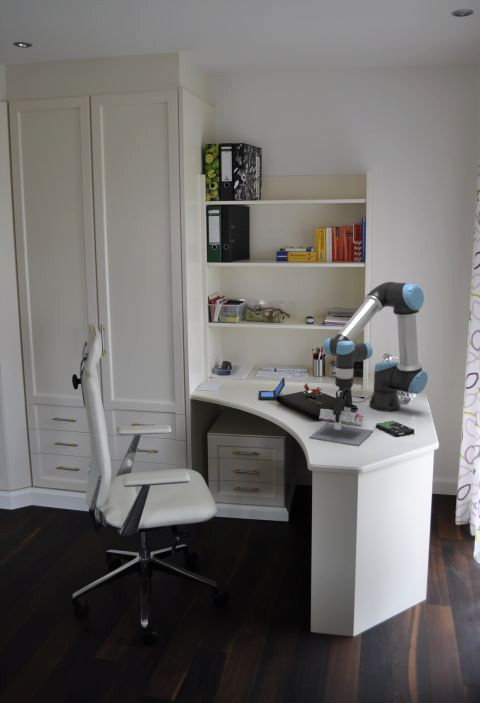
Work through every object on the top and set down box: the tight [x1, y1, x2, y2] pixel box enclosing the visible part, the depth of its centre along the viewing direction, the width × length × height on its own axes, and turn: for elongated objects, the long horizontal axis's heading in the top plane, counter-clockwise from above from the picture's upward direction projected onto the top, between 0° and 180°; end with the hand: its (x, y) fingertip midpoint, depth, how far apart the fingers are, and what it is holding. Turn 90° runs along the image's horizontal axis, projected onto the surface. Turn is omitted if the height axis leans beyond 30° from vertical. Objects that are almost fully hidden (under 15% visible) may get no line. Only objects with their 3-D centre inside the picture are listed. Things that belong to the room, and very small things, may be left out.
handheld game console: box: [258, 377, 286, 402], centre depth 356 cm, size 16×13×9 cm
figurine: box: [303, 382, 324, 395], centre depth 355 cm, size 15×12×7 cm
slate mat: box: [308, 422, 374, 447], centre depth 295 cm, size 22×22×1 cm
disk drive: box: [375, 420, 415, 438], centre depth 301 cm, size 10×3×15 cm
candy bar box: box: [318, 407, 364, 428], centre depth 294 cm, size 11×5×16 cm
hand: (342, 425), depth 294 cm, fingers closed on candy bar box, 12 cm apart
